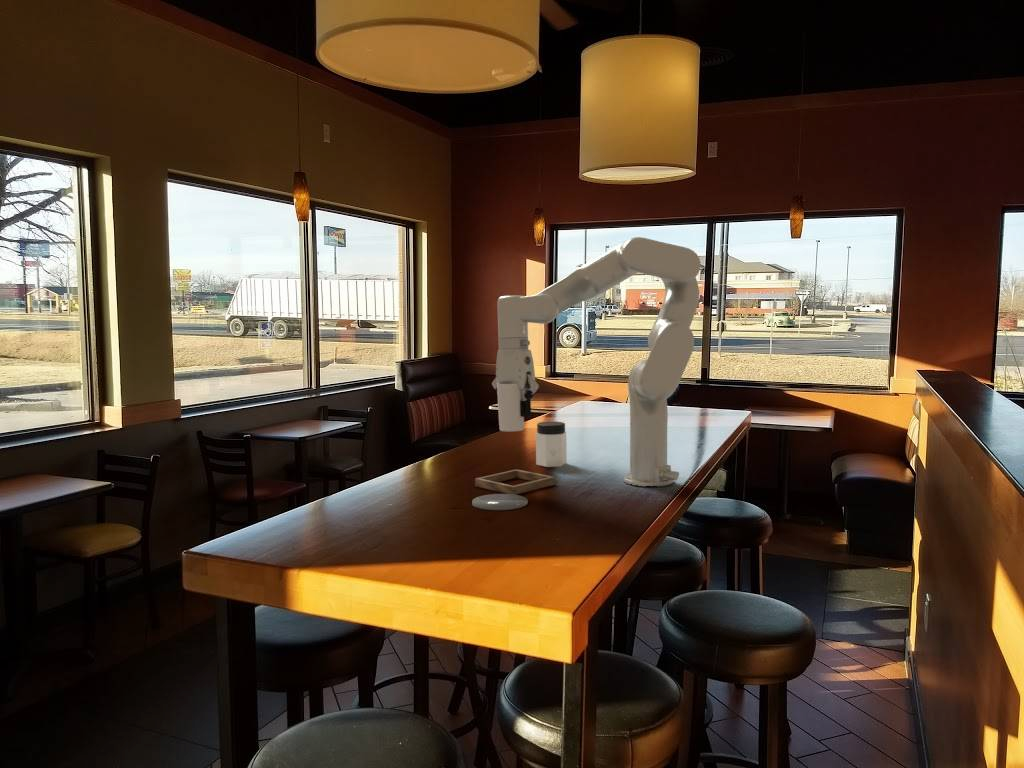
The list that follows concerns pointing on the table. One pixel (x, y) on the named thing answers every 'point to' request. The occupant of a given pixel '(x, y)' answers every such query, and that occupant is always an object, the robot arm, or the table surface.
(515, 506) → the grey round disc
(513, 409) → the mug
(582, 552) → the table surface
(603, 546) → the table surface
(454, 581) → the table surface
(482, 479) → the corral
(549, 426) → the jar
